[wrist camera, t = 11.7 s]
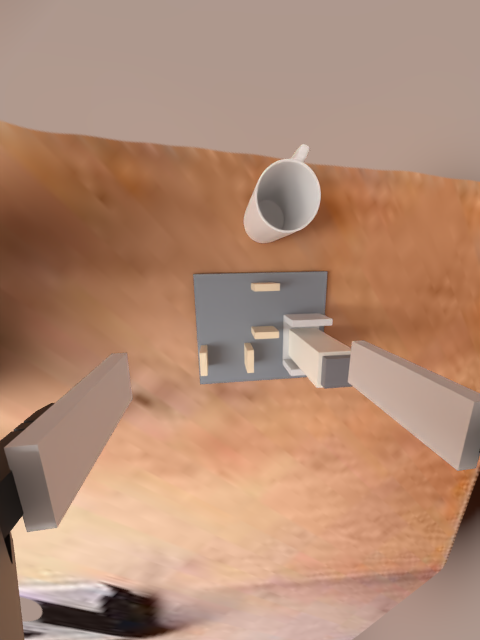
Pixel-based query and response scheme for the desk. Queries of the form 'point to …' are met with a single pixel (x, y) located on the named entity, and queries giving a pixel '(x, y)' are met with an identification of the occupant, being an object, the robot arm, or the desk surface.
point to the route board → (254, 322)
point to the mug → (283, 199)
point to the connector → (320, 357)
